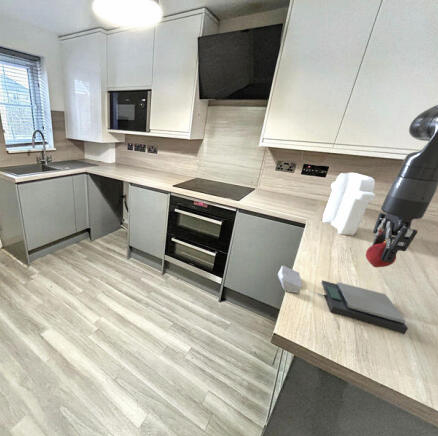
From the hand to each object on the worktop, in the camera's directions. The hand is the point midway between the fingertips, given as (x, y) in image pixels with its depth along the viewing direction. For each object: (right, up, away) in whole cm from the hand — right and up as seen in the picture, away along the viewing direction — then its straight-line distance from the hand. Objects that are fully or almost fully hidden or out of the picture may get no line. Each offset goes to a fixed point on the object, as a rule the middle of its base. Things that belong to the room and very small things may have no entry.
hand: (380, 255), depth 64 cm
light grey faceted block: (-17, -12, +14) cm, 25 cm away
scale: (-1, -16, +6) cm, 17 cm away
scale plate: (0, -14, +4) cm, 15 cm away
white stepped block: (+43, +4, +66) cm, 79 cm away
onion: (0, -4, +1) cm, 4 cm away
